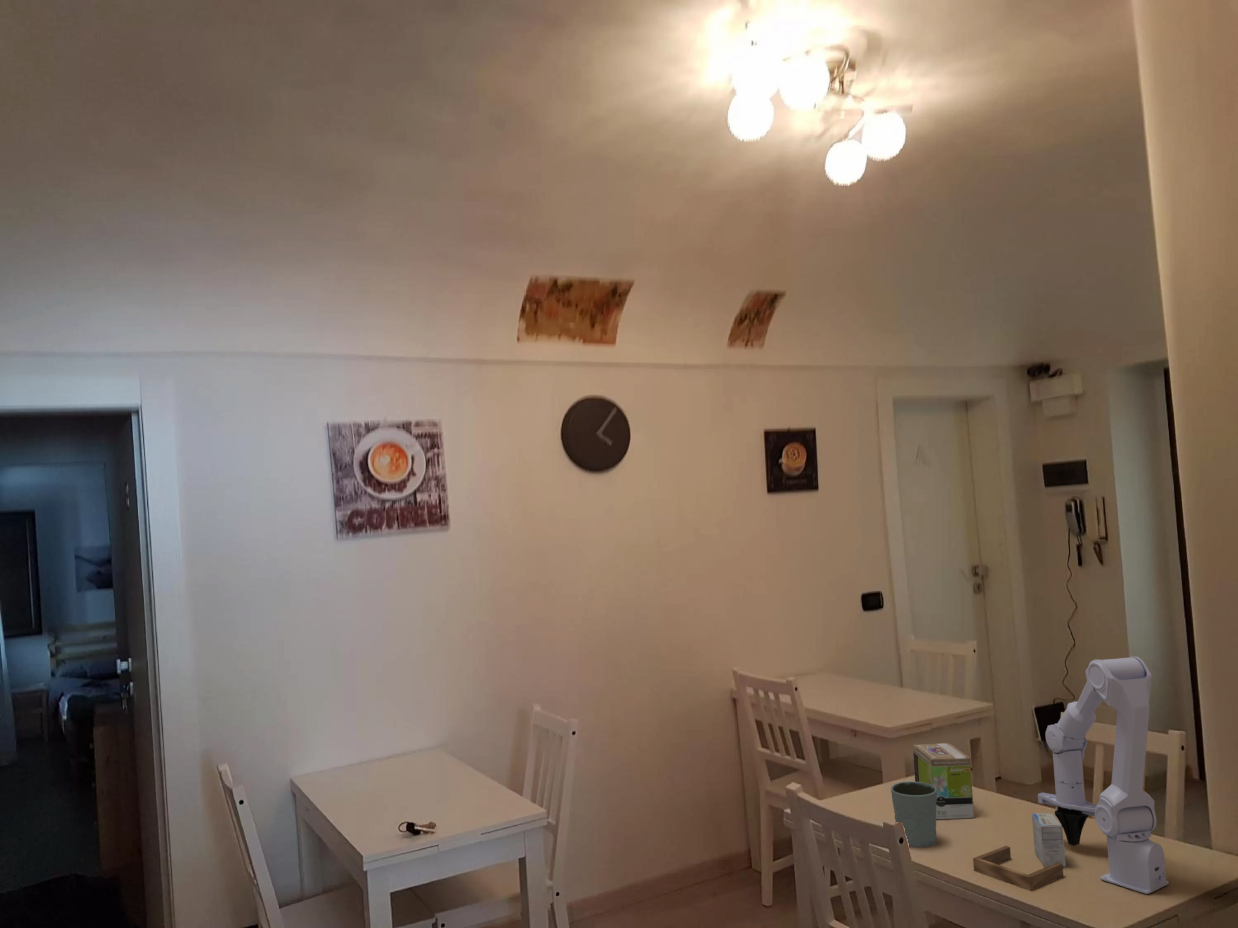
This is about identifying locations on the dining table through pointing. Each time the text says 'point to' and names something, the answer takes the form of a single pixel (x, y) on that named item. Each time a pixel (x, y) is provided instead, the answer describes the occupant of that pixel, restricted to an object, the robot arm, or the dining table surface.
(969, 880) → the dining table surface
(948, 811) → the tea box
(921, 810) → the teal cup
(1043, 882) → the holder
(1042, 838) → the medicine box
